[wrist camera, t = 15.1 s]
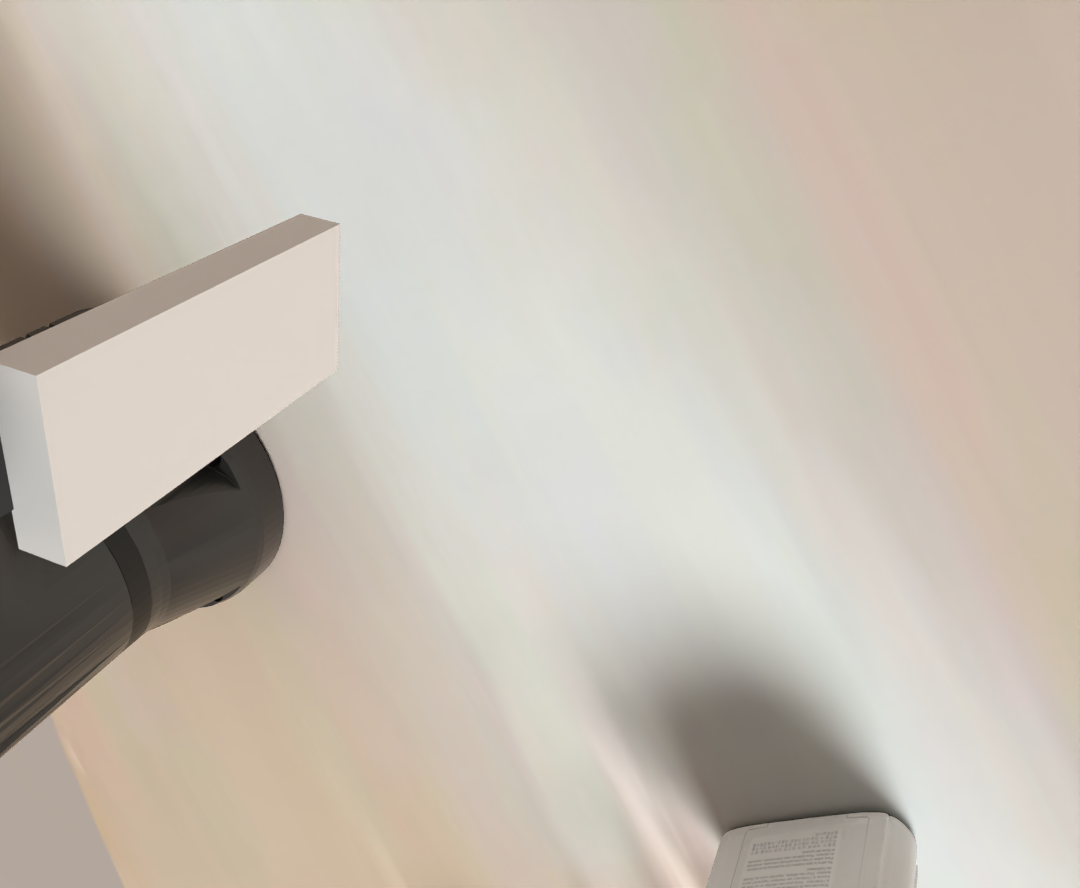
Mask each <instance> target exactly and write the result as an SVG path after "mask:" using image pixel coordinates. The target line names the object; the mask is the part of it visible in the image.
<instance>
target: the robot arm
mask: <svg viewBox="0 0 1080 888" xmlns="http://www.w3.org/2000/svg"><path fill="white" fill-rule="evenodd" d="M339 263H340V224H339V223H335V222H331V221H327V220H323V219H319V218H315V217H311V216H307V215H303V214H299V215H297V216H295V217H293V218H291V219H288V220H286V221H284V222H282V223H280V224H277V225H275V226H273V227H271V228H269V229H267V230H264V231H262V232H260V233H258V234H256V235H253V236H251V237H249V238H247V239H245V240H242V241H240V242H238V243H236V244H234V245H231V246H229V247H227V248H225V249H223V250H220V251H218V252H216V253H214V254H212V255H209V256H207V257H205V258H203V259H201V260H198V261H196V262H194V263H192V264H190V265H188V266H185V267H183V268H181V269H179V270H177V271H174V272H172V273H170V274H168V275H166V276H163V277H161V278H159V279H157V280H155V281H152V282H150V283H148V284H146V285H144V286H141V287H139V288H137V289H135V290H133V291H130V292H128V293H126V294H124V295H122V296H119V297H117V298H115V299H113V300H111V301H109V302H106V303H104V304H102V305H100V306H98V307H94V308H90V309H85V310H81V311H77V312H75V313H73V314H71V315H68V316H66V317H64V318H62V319H60V320H57V321H55V322H53V323H51V324H50V326H49V328H48V327H42V328H40V329H37V330H35V331H33V332H31V333H29V334H27V336H26V338H22V337H20V338H17V339H15V340H13V341H11V342H9V343H6V344H4V345H2V346H0V758H1V757H2V756H3V755H4V754H5V753H7V752H8V751H9V750H10V749H11V748H12V747H13V746H15V745H16V744H17V743H18V742H19V741H20V740H21V739H23V738H24V737H25V736H26V735H27V734H28V733H30V732H31V731H32V730H33V729H34V728H35V727H36V726H37V725H39V724H40V723H41V722H42V721H43V720H44V719H46V718H47V717H48V716H49V715H50V714H51V713H53V712H54V711H55V710H56V709H57V708H58V707H59V706H61V705H62V704H63V703H64V702H65V701H66V700H68V699H69V698H70V697H71V696H72V695H73V694H74V693H76V692H77V691H78V690H79V689H80V688H81V687H83V686H84V685H85V684H86V683H87V682H88V681H89V680H91V679H92V678H93V677H94V676H95V675H96V674H97V673H99V672H100V671H101V670H102V669H103V668H104V667H106V666H107V665H108V664H109V663H110V662H111V661H112V660H114V659H115V658H116V657H117V656H118V655H119V654H120V653H122V652H123V651H124V650H125V649H126V648H128V647H129V646H130V645H131V644H132V643H133V642H135V641H136V640H137V639H138V638H139V637H140V636H142V635H143V634H144V633H145V632H147V631H149V630H151V629H154V628H156V627H159V626H161V625H163V624H166V623H168V622H170V621H172V620H174V619H176V618H178V617H180V616H182V615H184V614H187V613H189V612H191V611H193V610H195V609H197V608H202V607H208V606H212V605H215V604H218V603H221V602H223V601H226V600H228V599H230V598H231V597H233V596H234V595H236V594H238V593H239V592H241V591H242V590H243V589H244V588H245V587H247V586H248V585H249V584H250V583H251V582H252V581H253V580H254V579H255V578H257V577H258V576H259V575H260V574H261V573H262V572H263V571H264V570H265V569H266V568H267V567H268V566H269V565H270V563H271V562H272V561H273V559H274V557H275V556H276V553H277V551H278V549H279V546H280V543H281V539H282V534H283V525H284V512H283V503H282V497H281V492H280V488H279V484H278V481H277V478H276V475H275V472H274V470H273V467H272V465H271V463H270V460H269V458H268V456H267V454H266V452H265V450H264V449H263V447H262V445H261V443H260V442H259V440H258V438H257V437H256V435H255V434H254V432H253V431H254V430H255V429H257V428H258V427H259V426H261V425H262V424H264V423H265V422H266V421H268V420H269V419H270V418H272V417H273V416H275V415H276V414H277V413H279V412H280V411H281V410H283V409H284V408H286V407H287V406H288V405H290V404H291V403H292V402H294V401H295V400H296V399H298V398H299V397H301V396H302V395H303V394H305V393H306V392H307V391H309V390H310V389H312V388H313V387H314V386H316V385H317V384H318V383H320V382H321V381H323V380H324V379H325V378H327V377H328V376H329V375H331V374H332V373H334V372H335V371H336V370H338V327H339Z"/></svg>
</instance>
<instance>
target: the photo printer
mask: <svg viewBox="0 0 1080 888" xmlns="http://www.w3.org/2000/svg"><path fill="white" fill-rule="evenodd" d="M916 859H917V844H916V841H915V838H914V836H913V835H912V833H911V832H910V830H909V829H908V828H907V827H906V826H905V825H904V824H903V823H902V822H900V821H899V820H898V819H896V818H894V817H892V816H889V815H888V814H886V813H879V812H862V813H850V814H841V815H832V816H823V817H814V818H806V819H798V820H790V821H782V822H774V823H765V824H759V825H752V826H746V827H741V828H737V829H733V830H730V831H728V832H726V833H725V834H724V835H723V837H722V839H721V842H720V844H719V848H718V851H717V854H716V857H715V861H714V864H713V867H712V871H711V874H710V877H709V880H708V884H707V887H706V888H917V877H918V873H917V865H916Z"/></svg>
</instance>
